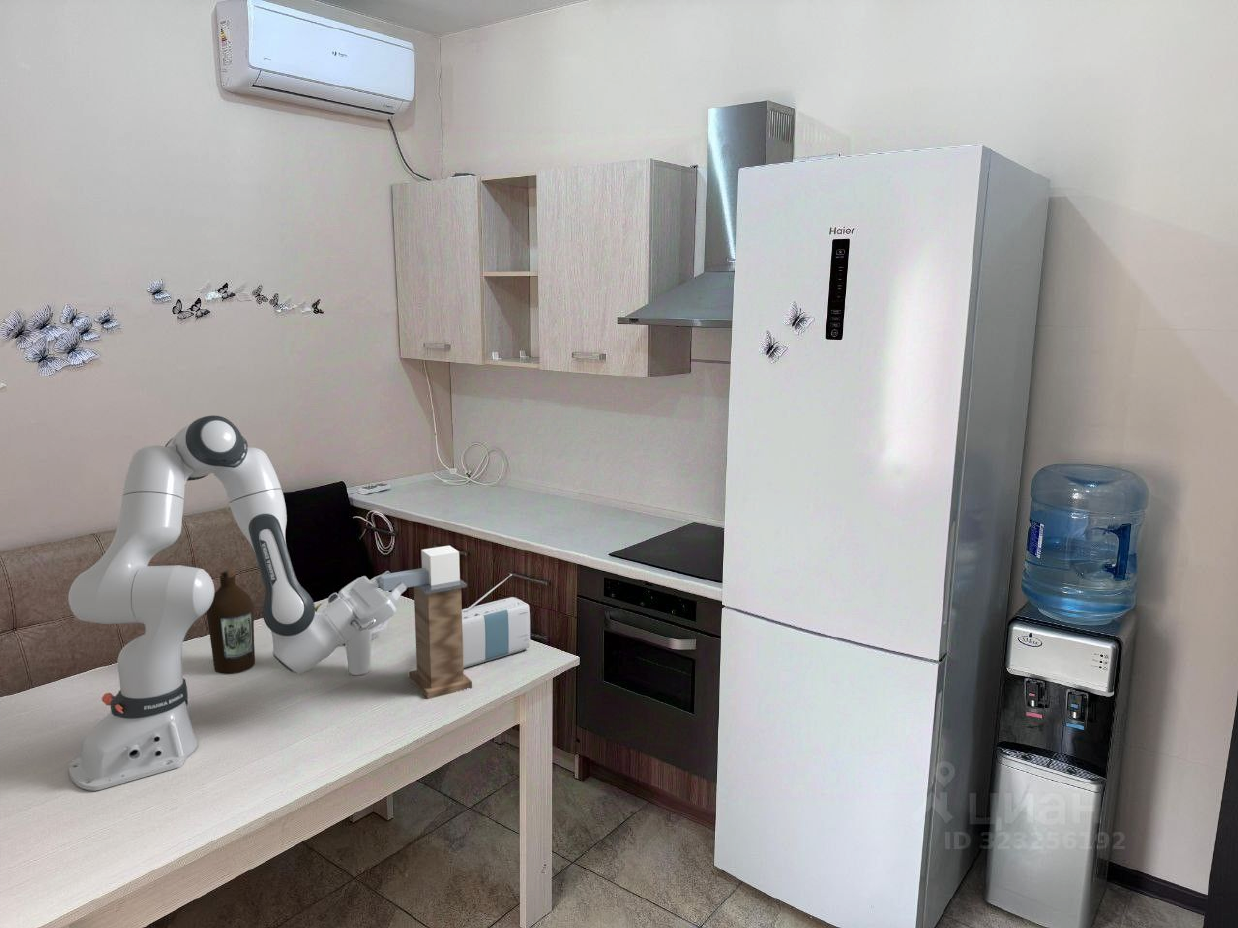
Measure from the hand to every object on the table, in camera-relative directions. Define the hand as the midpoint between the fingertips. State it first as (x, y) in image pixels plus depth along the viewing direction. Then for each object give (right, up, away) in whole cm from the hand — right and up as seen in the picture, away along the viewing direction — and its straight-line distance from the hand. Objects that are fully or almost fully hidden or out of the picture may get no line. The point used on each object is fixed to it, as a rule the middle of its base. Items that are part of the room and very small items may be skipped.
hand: (397, 579), depth 193 cm
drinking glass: (-14, -25, +16) cm, 33 cm away
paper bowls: (-20, -21, +38) cm, 48 cm away
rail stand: (+8, -26, +10) cm, 29 cm away
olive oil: (-46, -25, +18) cm, 55 cm away
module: (+4, -1, +3) cm, 5 cm away
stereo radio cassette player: (+17, -24, +26) cm, 39 cm away
